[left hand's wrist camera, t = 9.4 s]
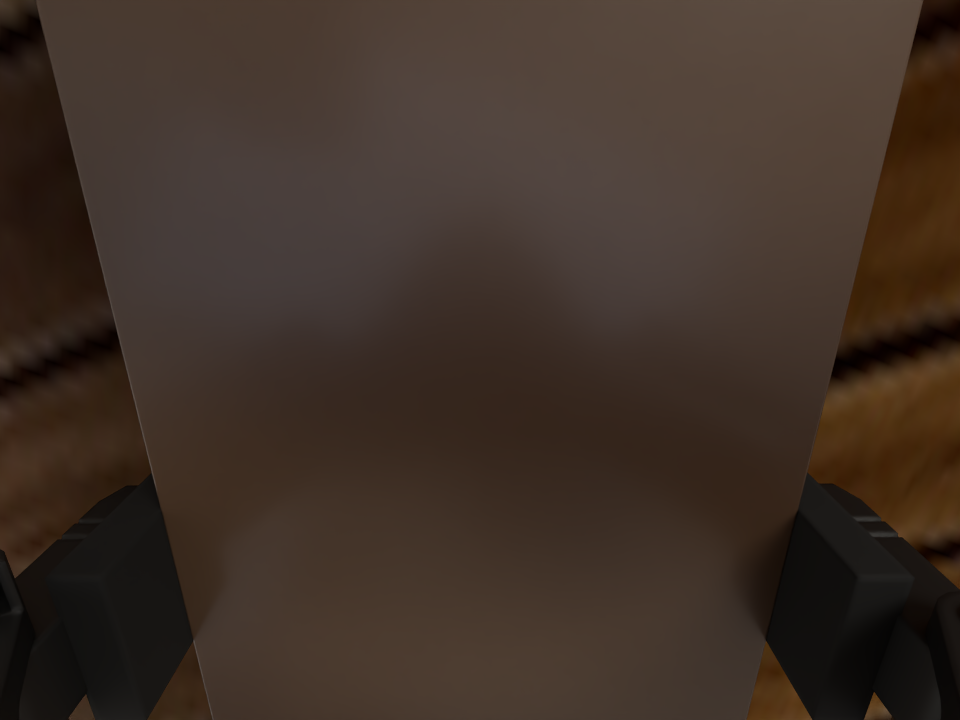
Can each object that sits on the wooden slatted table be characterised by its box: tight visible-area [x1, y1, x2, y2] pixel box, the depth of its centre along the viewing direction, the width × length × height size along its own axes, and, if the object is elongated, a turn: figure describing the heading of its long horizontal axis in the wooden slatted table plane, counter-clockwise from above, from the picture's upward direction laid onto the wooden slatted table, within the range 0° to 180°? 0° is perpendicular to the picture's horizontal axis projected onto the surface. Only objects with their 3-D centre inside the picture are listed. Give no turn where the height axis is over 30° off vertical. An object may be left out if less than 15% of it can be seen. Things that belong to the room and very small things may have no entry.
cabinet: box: [35, 0, 923, 720], centre depth 12 cm, size 18×10×9 cm, turn 0°
